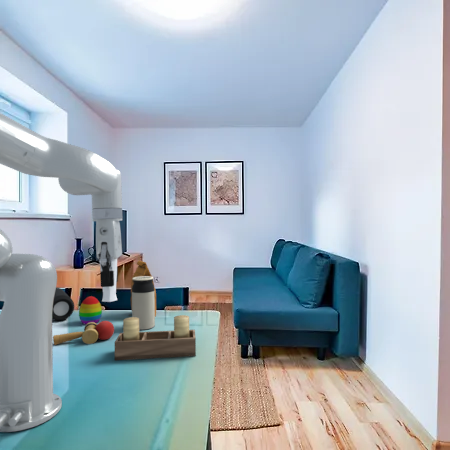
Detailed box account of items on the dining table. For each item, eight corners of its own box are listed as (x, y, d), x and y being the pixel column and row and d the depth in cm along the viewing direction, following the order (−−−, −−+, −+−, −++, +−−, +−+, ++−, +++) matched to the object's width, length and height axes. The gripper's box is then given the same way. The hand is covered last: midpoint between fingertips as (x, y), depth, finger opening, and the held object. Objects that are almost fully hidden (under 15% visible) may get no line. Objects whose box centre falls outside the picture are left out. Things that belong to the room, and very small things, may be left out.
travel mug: (156, 328, 122) (156, 278, 122) (133, 331, 119) (133, 280, 119) (152, 322, 129) (152, 275, 129) (131, 325, 126) (130, 276, 126)
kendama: (53, 354, 102) (115, 338, 108) (50, 332, 103) (112, 318, 109) (57, 349, 110) (115, 335, 115) (54, 330, 110) (112, 316, 116)
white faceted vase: (99, 303, 87) (98, 244, 87) (101, 299, 92) (99, 243, 91) (118, 301, 89) (117, 244, 88) (118, 297, 93) (117, 242, 92)
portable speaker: (75, 320, 134) (75, 294, 134) (47, 324, 129) (47, 298, 129) (65, 307, 156) (65, 285, 156) (41, 310, 150) (40, 287, 150)
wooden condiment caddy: (195, 355, 96) (195, 320, 96) (114, 360, 94) (114, 324, 94) (195, 345, 104) (194, 313, 104) (120, 349, 102) (120, 316, 101)
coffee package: (133, 320, 133) (132, 263, 133) (129, 312, 144) (128, 260, 144) (158, 317, 137) (158, 262, 137) (153, 310, 148) (152, 259, 148)
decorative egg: (74, 324, 128) (73, 298, 128) (89, 318, 136) (89, 293, 136) (92, 326, 125) (91, 299, 125) (106, 320, 133) (106, 294, 133)
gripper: (116, 215, 82) (118, 290, 82) (127, 215, 99) (128, 278, 99) (83, 215, 81) (86, 292, 81) (100, 215, 98) (102, 279, 98)
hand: (109, 283), depth 90 cm, fingers closed on white faceted vase, 4 cm apart
